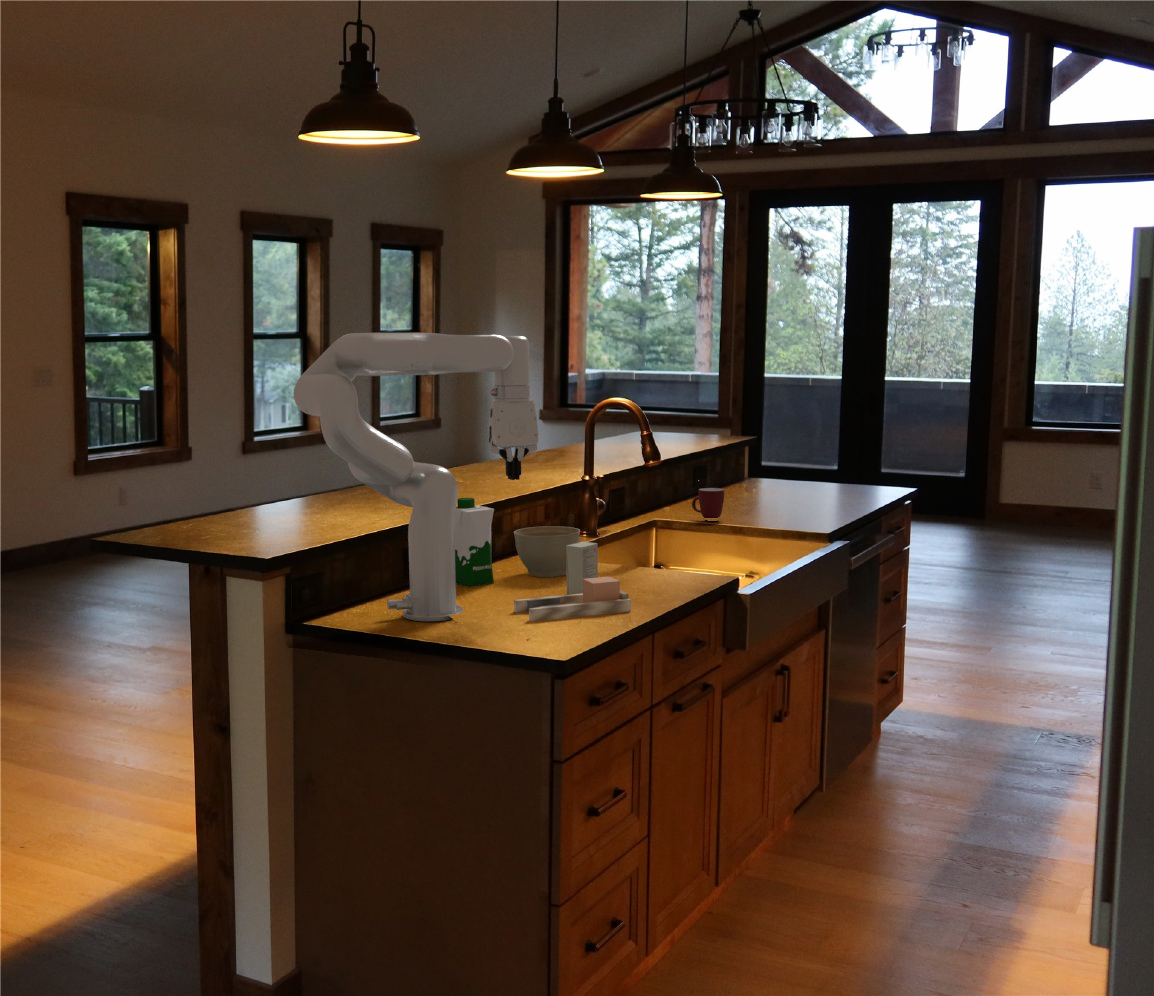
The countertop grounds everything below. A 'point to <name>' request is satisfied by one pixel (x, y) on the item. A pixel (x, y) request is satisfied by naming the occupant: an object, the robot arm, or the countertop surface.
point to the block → (600, 589)
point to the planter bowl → (545, 549)
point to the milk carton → (473, 544)
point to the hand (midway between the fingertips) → (513, 479)
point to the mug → (710, 502)
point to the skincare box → (580, 565)
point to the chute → (569, 606)
